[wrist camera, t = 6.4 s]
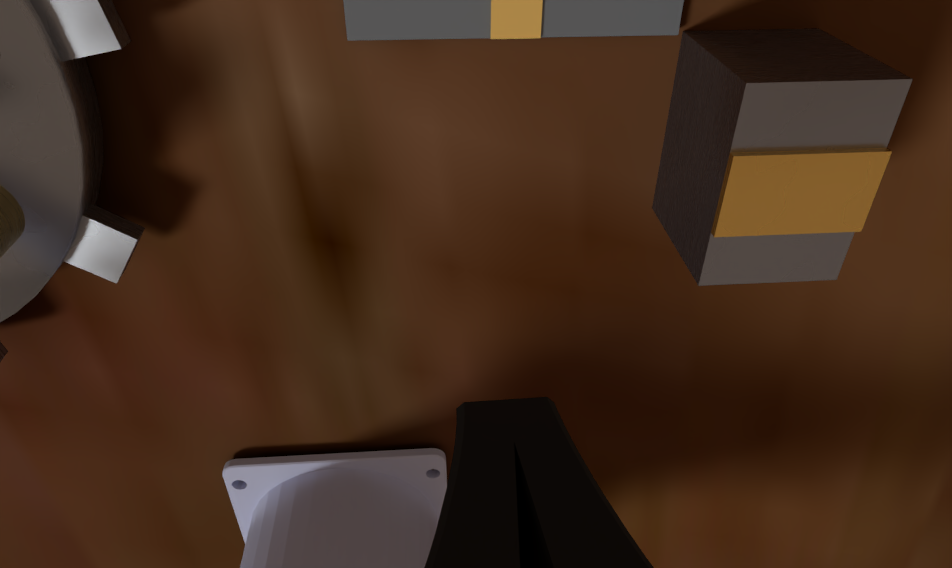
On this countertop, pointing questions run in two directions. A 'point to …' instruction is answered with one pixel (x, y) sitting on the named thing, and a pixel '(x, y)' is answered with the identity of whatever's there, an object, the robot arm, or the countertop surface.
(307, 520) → the robot arm
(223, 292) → the countertop surface
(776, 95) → the link
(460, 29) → the pad
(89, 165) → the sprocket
